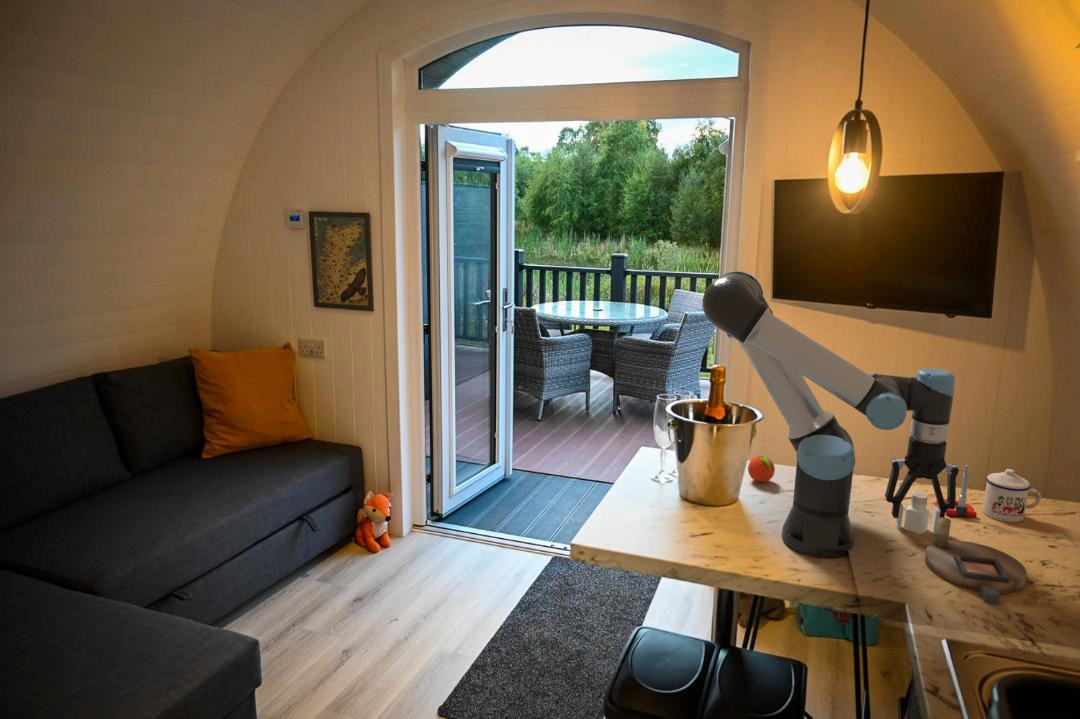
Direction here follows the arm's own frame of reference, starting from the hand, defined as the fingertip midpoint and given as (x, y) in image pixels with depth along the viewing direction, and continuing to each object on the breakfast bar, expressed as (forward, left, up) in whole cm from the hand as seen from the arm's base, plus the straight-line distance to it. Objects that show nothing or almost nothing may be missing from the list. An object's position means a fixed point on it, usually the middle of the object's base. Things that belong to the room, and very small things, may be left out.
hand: (915, 532), depth 174 cm
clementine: (-34, +21, 0) cm, 40 cm away
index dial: (+8, -17, +1) cm, 19 cm away
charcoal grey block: (+8, -28, 0) cm, 30 cm away
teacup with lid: (+24, +17, 0) cm, 29 cm away
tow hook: (+12, +17, -1) cm, 21 cm away
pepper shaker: (0, 0, 0) cm, 0 cm away
